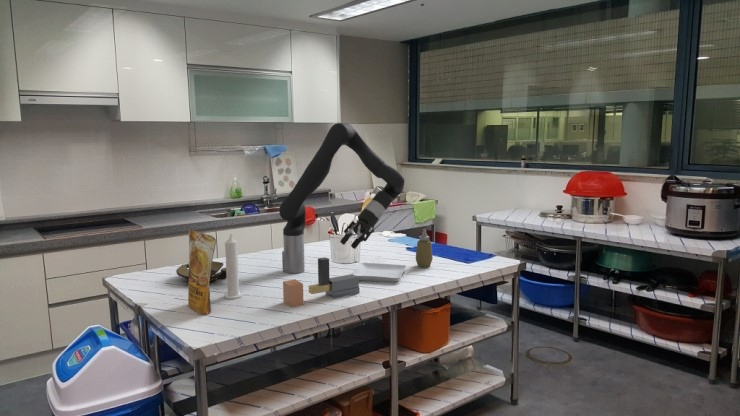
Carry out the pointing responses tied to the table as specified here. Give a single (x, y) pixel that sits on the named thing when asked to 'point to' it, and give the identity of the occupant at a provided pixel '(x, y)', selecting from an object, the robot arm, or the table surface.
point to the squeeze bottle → (424, 251)
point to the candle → (232, 269)
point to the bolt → (322, 277)
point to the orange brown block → (293, 293)
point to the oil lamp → (215, 268)
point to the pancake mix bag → (200, 270)
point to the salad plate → (379, 272)
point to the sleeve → (343, 286)
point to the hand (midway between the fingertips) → (347, 245)
